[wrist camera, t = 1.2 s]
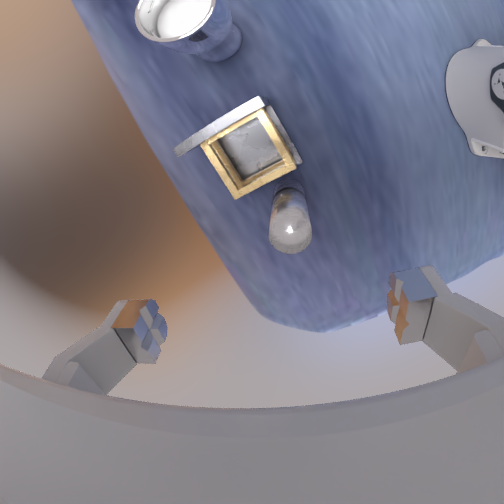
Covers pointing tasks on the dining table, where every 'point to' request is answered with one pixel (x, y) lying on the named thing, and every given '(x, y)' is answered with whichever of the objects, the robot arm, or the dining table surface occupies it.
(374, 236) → the dining table surface
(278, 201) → the metal cylinder
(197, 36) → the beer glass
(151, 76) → the dining table surface
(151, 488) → the robot arm
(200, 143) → the stand
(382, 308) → the dining table surface
